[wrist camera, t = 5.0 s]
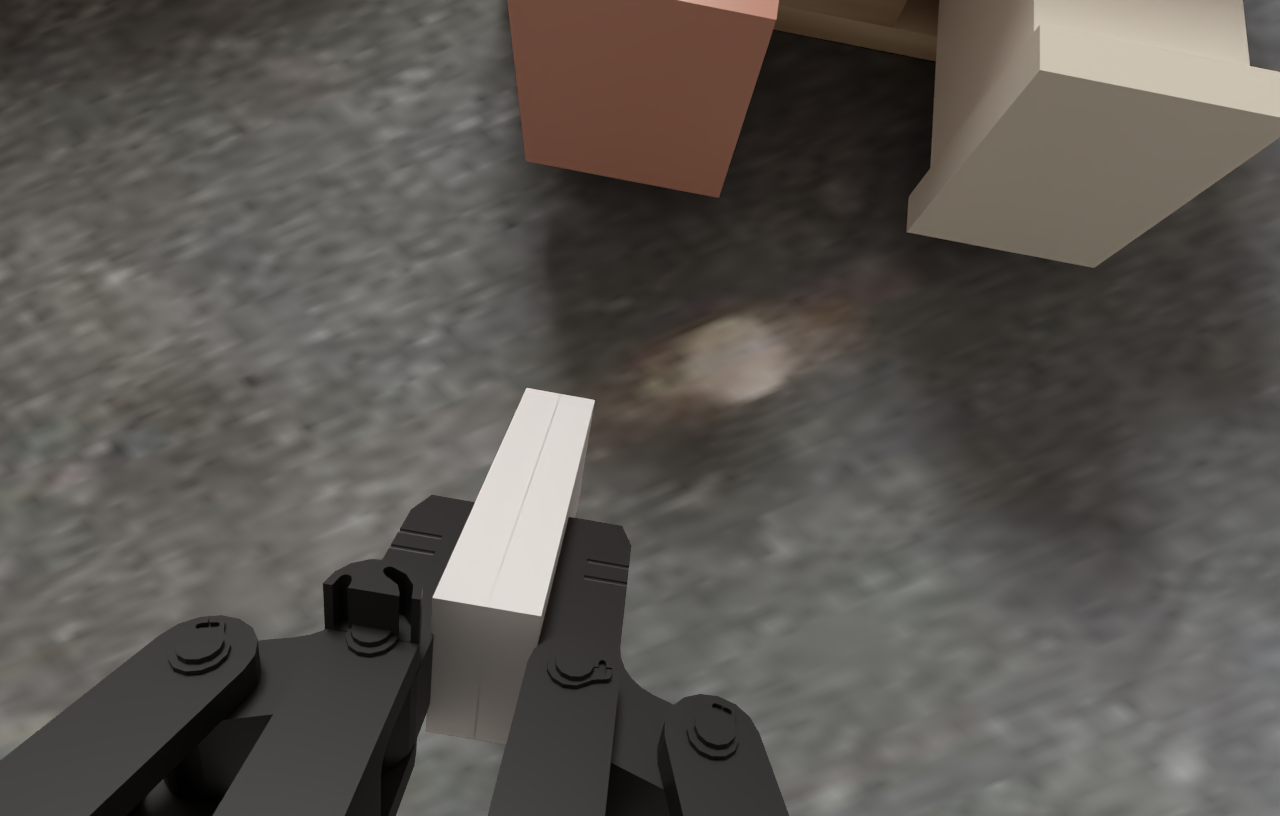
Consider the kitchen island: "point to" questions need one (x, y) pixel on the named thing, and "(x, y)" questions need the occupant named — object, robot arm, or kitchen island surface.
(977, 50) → the cream plug
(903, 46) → the wooden box
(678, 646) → the kitchen island surface
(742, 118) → the rust plug
